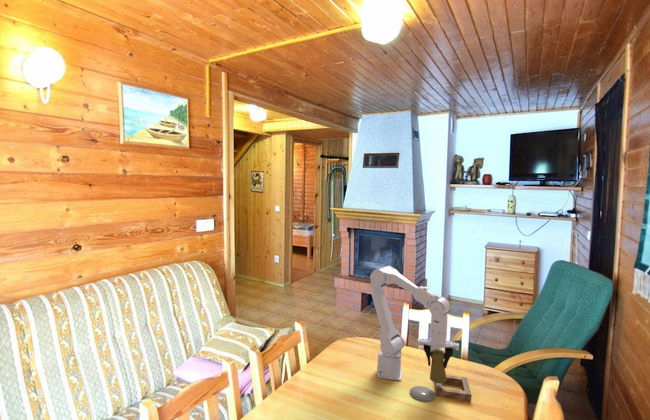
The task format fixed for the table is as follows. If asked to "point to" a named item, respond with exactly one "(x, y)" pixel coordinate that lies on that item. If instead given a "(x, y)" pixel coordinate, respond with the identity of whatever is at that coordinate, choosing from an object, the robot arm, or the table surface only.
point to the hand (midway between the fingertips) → (437, 365)
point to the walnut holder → (453, 393)
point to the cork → (437, 366)
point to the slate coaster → (422, 393)
